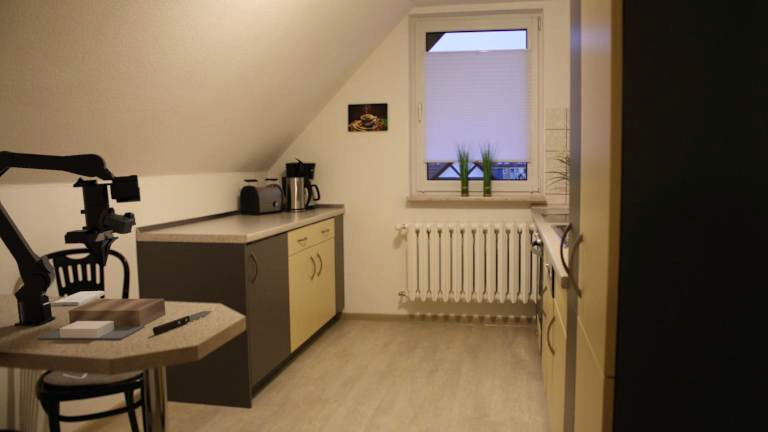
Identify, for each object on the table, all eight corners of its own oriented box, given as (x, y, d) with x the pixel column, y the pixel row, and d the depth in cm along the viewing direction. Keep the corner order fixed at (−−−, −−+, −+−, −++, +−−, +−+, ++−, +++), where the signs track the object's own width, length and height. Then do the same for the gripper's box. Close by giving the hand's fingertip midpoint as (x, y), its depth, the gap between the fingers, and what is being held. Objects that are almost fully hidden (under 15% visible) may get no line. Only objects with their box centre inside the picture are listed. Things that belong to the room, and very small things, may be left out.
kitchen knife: (156, 336, 134) (155, 327, 134) (152, 336, 135) (151, 327, 134) (213, 314, 150) (213, 306, 150) (210, 314, 151) (210, 306, 150)
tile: (77, 321, 140) (78, 329, 141) (59, 328, 135) (60, 337, 135) (113, 321, 139) (114, 329, 139) (96, 328, 133) (97, 337, 133)
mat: (38, 339, 136) (38, 337, 136) (66, 327, 145) (66, 325, 145) (121, 339, 132) (120, 337, 132) (144, 327, 141) (144, 325, 141)
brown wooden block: (70, 327, 144) (68, 310, 144) (99, 314, 155) (98, 299, 155) (140, 327, 141) (138, 310, 141) (165, 314, 152) (164, 298, 152)
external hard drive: (105, 296, 179) (79, 307, 167) (79, 297, 180) (51, 307, 168) (104, 290, 179) (78, 301, 167) (78, 291, 180) (50, 302, 168)
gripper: (102, 207, 142) (109, 274, 144) (147, 200, 161) (152, 259, 162) (59, 208, 144) (66, 274, 146) (108, 201, 163) (114, 260, 164)
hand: (102, 266), depth 155 cm, fingers closed
